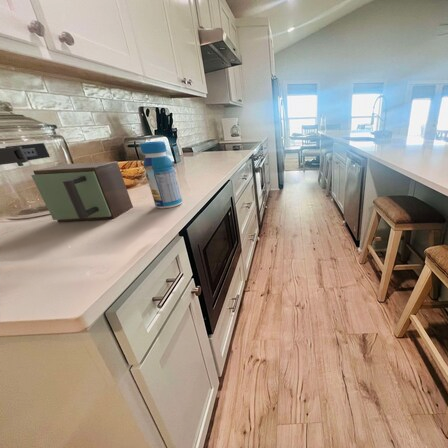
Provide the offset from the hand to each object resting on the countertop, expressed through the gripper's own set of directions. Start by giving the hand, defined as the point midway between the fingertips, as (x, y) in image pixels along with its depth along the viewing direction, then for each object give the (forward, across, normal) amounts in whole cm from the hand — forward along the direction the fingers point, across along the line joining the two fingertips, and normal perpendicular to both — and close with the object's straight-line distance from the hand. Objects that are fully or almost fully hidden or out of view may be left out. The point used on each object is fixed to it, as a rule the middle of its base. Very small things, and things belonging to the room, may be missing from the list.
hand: (10, 152), depth 48 cm
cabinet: (+21, -5, -21) cm, 30 cm away
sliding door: (+12, -5, -20) cm, 24 cm away
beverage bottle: (+26, +15, -21) cm, 37 cm away
